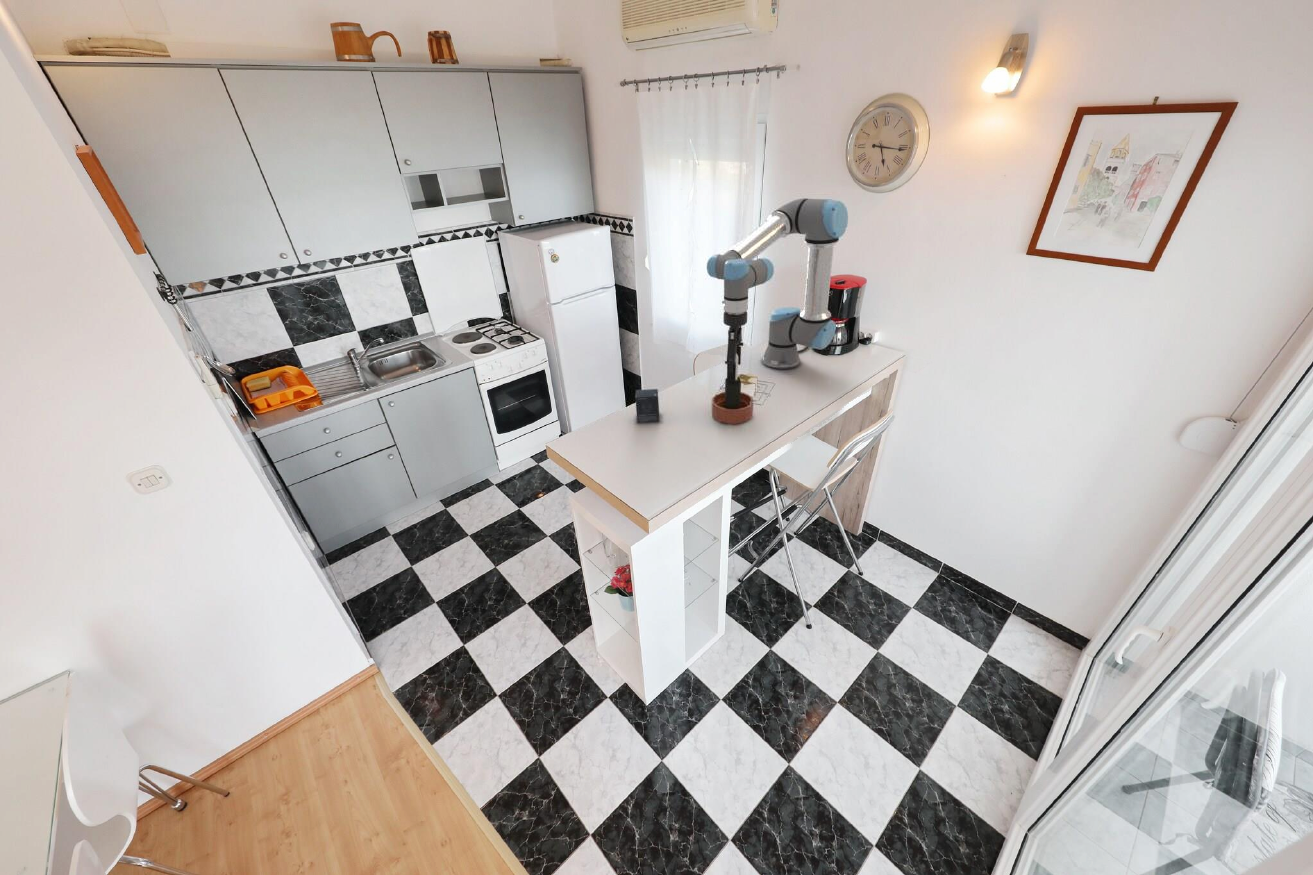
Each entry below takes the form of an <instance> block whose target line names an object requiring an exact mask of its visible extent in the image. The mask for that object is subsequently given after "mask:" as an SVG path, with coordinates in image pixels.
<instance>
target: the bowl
mask: <svg viewBox="0 0 1313 875" xmlns="http://www.w3.org/2000/svg"><path fill="white" fill-rule="evenodd" d="M754 402H755V400H754V398H753V397H752V396H751V395H750V394H749V393H746V392H742V391H741V397H740V409H726V408H725V391H721V392H718V393H716V394H715V395H714V396H712V398H711V416H712V418H713V419H715V420H716V421H718V422H719V423H723V424H729V425H736V424H737V425H738V424H742V423H745V422H747V421H749V420H750V419H751V418H752V417H753V414H754Z"/></svg>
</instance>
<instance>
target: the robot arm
mask: <svg viewBox="0 0 1313 875" xmlns="http://www.w3.org/2000/svg"><path fill="white" fill-rule="evenodd" d="M848 214H849V213H848V209H847V207H846V205H845V203H844V202H843V201H841V200H835V199H831V198H830V199H828V198H827V199H826V198H804V197H803V198H798V199H793V200H792V201H790V202H787V203H785V204H783V205H781V206H780V207H778V208H777V209H775V210H774V211H772V213H770V214H769V215H768V217H767V220H765V221H764V222H763V223H762V224H760V225H759V226H758V227H757V228H755V229H754V230H753V231H752V232H750V233H749V234H748V235H746V236H745V237H744V238H743V239H742V240H740V241H739V242H737V243H736V244H734V246H732V247H731V248H730V249H728V250H727V251H726V252H724V253H723V254H720V253H718V254H712V255H711V256H709V258H708V260H707V262H706V271H707V274H708V275H709V277H711V278H714V279H717V280H723V300H722V301H721V304H723V320H722V321H723V324H724V325H725V326H728V327H729V328H728V330H727V335H728V336H727V337H728V338H727V350H726V360H724V364H725V365H726V378H727V381H729V382H735V379H736V362H735V360H736V354H737V355H738V366H741V364H742V363H741V362H742V347H743V346H744V342H743V335H742V334H743V333H742V331H743V327H742V326H744V325H746V324H747V323H748V310H749V289H751V288H754V287H757V286H759V285H764V284H765V283H767V282H769V281H770V280H771V279H772V278H773V276H774V274H775V270H774V267H775V266H774V265H773V262H772V261H771V260H770V259H768V258H765V257H762V258H758V256H759V255H761V254H762V253H763V252H764V251H766V250H767V249H768V248H769V247H771V246H772V245H773V244H774V243H776V242H777V241H778V240H779V239H784V238H786V237H788V236H789V235H791V234H792V235H793V234H798V235H804V243H805V244H806V245H807V247H808V249H807V250H808V251H807V263H806V264H807V266H806V278H805V294H804V308H803V310H802V311H801V309H800V308H799V307H793V306H787V307H780V308H776V309H774V310H772V311H771V312H770V318H769V327H768V330H769V331H768V342H767V347H766V349H765V351H764V353H763V356H762V364H764V366H766V367H768V368H771V369H776V370H790V369H794V368H796V367H798V366H799V365H800V360H801V359H800V356H799V353H802V352H804V351H806V350H807V349H808V348H811V349H816V350H824V349H825V348H827V347H828V346H829V345H830V343H831V342H832V340H833V339H834V336H835V334H836V330H837V324H836V322H835V321H834V320H831V318H832V313H831V312H830V310H828V308H829V298H830V288H831V276H832V266H833V258H834V257H833V256H834V249H835V248H834V246H835V245H836V244H837V243H839V241H840V238H841V237H842V236H844V234H845V233H846V229H847V227H848V223H849V215H848ZM756 258H757V259H756ZM797 345H800V346H804V348H803V349H800V350H798V347H797Z"/></svg>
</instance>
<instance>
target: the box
mask: <svg viewBox="0 0 1313 875" xmlns="http://www.w3.org/2000/svg"><path fill="white" fill-rule="evenodd" d="M634 400H635V410H636V421H637V424H643V423H644V424H646V423H660V404H659V403H660V402H659V389H658V388H649V389H636V390H635V396H634Z"/></svg>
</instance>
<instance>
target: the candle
mask: <svg viewBox="0 0 1313 875" xmlns="http://www.w3.org/2000/svg"><path fill="white" fill-rule="evenodd" d="M735 362H736V379H735V382H729V381H727V377H726V378H724V382H725V383H724V392H725V408H726V409H740V397H741V392H742V380H741V378H740V377H739V376H738V374H739V365H738V355H737V354H736V360H735Z"/></svg>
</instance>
